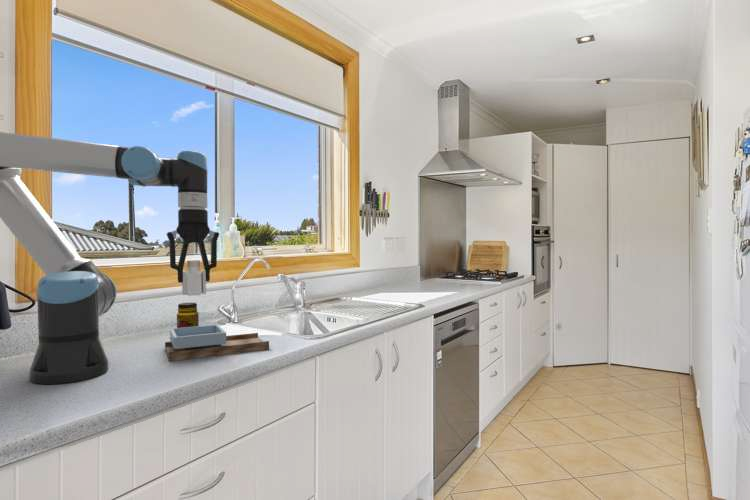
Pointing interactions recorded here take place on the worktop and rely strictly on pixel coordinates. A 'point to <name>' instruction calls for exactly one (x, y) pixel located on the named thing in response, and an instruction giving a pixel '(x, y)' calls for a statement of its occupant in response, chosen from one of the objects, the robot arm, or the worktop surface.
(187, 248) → the robot arm
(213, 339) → the light blue tray
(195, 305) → the condiment
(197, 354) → the wooden cutting board
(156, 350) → the worktop surface
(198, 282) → the pepper shaker
